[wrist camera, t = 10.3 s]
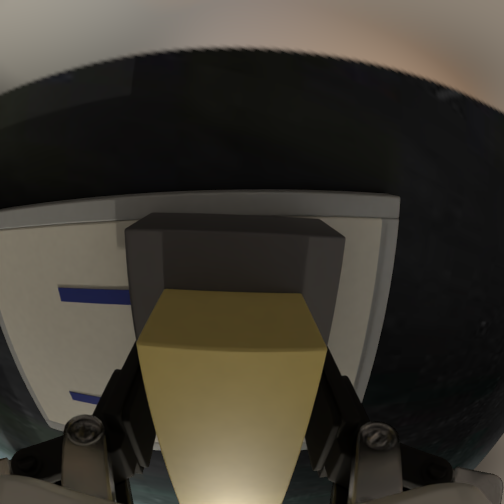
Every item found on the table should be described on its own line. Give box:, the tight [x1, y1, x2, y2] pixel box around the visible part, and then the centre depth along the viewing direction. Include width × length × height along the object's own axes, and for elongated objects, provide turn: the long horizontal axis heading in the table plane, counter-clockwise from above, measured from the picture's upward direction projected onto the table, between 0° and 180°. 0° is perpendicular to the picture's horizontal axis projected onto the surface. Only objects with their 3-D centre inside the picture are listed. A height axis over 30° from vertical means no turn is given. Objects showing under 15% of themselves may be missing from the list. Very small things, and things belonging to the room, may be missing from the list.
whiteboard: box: [0, 189, 400, 450], centre depth 11 cm, size 18×13×1 cm
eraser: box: [124, 212, 346, 504], centre depth 9 cm, size 12×6×5 cm, turn 177°
